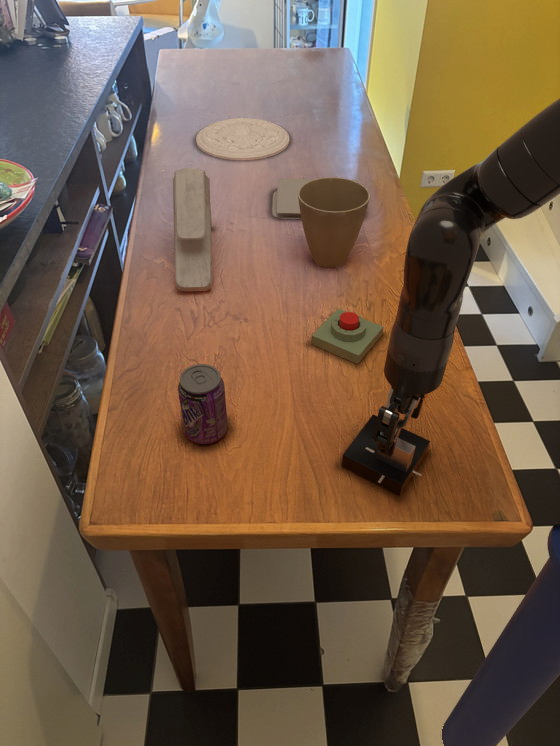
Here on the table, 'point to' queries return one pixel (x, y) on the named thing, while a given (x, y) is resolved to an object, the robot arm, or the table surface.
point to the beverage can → (203, 403)
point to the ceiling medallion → (242, 139)
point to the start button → (349, 321)
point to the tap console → (367, 466)
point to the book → (288, 198)
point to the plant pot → (332, 217)
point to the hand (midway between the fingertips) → (398, 433)
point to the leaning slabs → (192, 230)
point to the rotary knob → (399, 456)
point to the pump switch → (347, 337)
